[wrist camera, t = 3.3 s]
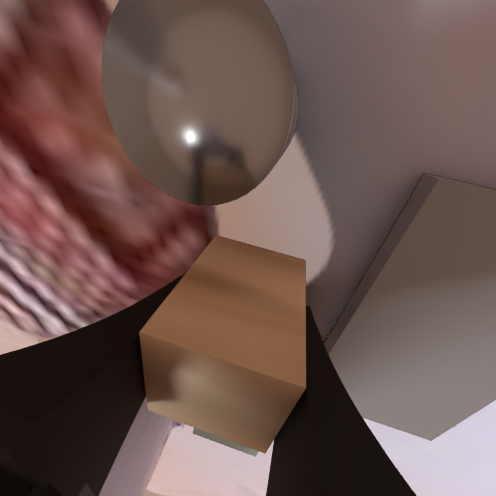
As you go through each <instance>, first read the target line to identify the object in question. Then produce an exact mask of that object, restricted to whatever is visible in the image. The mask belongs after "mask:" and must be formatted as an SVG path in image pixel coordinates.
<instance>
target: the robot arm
mask: <svg viewBox="0 0 496 496" xmlns="http://www.w3.org/2000/svg"><path fill="white" fill-rule="evenodd" d="M186 273H187V272H186ZM186 273H185V274H186ZM185 274H183V275H181V276H180V277H178V278H177V279H175V280H174V281H172V282H171V283H169V284H168V285H166V286H164V287H163V288H161V289H159V290H158V291H156V292H155V293H153V294H151V295H150V296H148V297H146V298H144V299H142V300H141V301H139V302H137V303H135V304H133V305H132V306H130V307H128V308H126V309H124V310H122V311H120V312H118V313H116V314H113V315H111V316H109V317H107V318H105V319H103V320H100V321H98V322H96V323H93V324H91V325H88V326H86V327H83V328H81V329H78V330H76V331H73V332H70V333H68V334H65V335H62V336H59V337H56V338H54V339H51V340H48V341H45V342H42V343H39V344H35V345H32V346H29V347H26V348H23V349H19V350H16V351H12V352H9V353H5V354H2V355H0V496H143V495H144V492H145V490H146V488H147V486H148V483H149V481H150V479H151V476H152V474H153V472H154V470H155V467H156V465H157V463H158V460H159V458H160V456H161V453H162V451H163V449H164V446H165V444H166V442H167V440H168V437H169V435H170V433H171V430H172V428H173V429H176V430H179V431H181V430H183V427H184V423H181V422H179V421H176V420H173V419H171V418H168V417H165V416H162V415H160V414H157V413H154V412H152V411H149V410H148V409H147V399H146V390H145V381H144V372H143V363H142V354H141V344H140V335H139V332H140V331H141V329H142V328H143V327H144V325H145V324H146V323H147V322H148V320H149V319H150V318H151V317H152V315H153V314H154V313H155V312H156V310H157V309H158V308H159V307H160V305H161V304H162V303H163V302H164V300H165V299H166V298H167V296H168V295H169V294H170V293H171V291H172V290H173V289H174V288H175V286H176V285H177V284H178V283H179V281H180V280H181V279H182V278H183V276H184V275H185ZM266 496H416V494H415V493H414V492H413V490H412V489H411V488H410V486H409V485H408V484H407V482H406V481H405V480H404V478H403V477H402V475H401V474H400V473H399V471H398V470H397V468H396V467H395V466H394V464H393V463H392V461H391V460H390V459H389V457H388V456H387V454H386V453H385V451H384V450H383V448H382V447H381V445H380V444H379V442H378V441H377V439H376V438H375V436H374V435H373V433H372V432H371V430H370V429H369V427H368V426H367V424H366V423H365V421H364V419H363V418H362V416H361V414H360V413H359V411H358V409H357V408H356V406H355V404H354V403H353V401H352V399H351V397H350V396H349V394H348V392H347V390H346V389H345V387H344V385H343V383H342V381H341V379H340V377H339V375H338V373H337V371H336V369H335V367H334V365H333V363H332V361H331V359H330V357H329V354H328V352H327V350H326V347H325V345H324V343H323V341H322V338H321V336H320V333H319V331H318V328H317V325H316V323H315V320H314V317H313V314H312V311H311V308H310V307H309V306H307V305H306V389H305V390H304V392H303V394H302V395H301V397H300V398H299V400H298V402H297V403H296V405H295V406H294V408H293V410H292V411H291V413H290V414H289V416H288V418H287V419H286V421H285V422H284V424H283V426H282V427H281V429H280V430H279V432H278V434H277V435H276V437H275V439H274V445H273V452H272V459H271V466H270V473H269V480H268V487H267V493H266Z"/></svg>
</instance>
